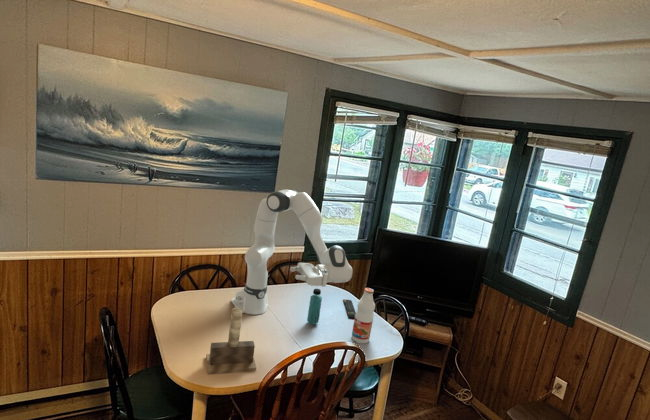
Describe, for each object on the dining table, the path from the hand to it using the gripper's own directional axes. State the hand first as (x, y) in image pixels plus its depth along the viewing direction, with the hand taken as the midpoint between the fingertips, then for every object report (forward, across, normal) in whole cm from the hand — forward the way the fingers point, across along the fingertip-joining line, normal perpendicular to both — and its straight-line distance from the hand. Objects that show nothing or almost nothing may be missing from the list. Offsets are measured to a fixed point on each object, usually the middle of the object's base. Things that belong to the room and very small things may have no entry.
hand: (293, 273), depth 195 cm
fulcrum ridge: (+27, +16, +36) cm, 48 cm away
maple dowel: (+27, +16, +26) cm, 41 cm away
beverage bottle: (-20, -16, +36) cm, 45 cm away
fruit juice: (-41, +1, +36) cm, 55 cm away
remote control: (-49, -32, +37) cm, 69 cm away
